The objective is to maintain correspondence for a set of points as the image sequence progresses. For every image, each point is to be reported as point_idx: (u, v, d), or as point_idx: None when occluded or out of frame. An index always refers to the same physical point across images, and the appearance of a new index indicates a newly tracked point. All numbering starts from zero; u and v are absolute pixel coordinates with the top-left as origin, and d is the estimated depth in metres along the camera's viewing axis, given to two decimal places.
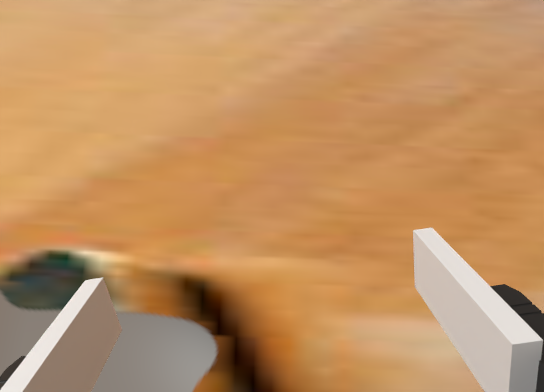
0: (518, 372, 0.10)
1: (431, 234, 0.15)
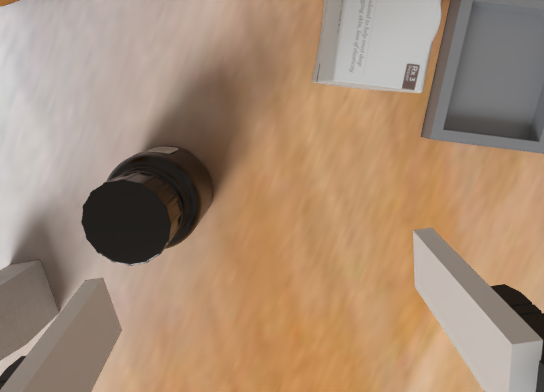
0: (518, 372, 0.10)
1: (430, 234, 0.15)
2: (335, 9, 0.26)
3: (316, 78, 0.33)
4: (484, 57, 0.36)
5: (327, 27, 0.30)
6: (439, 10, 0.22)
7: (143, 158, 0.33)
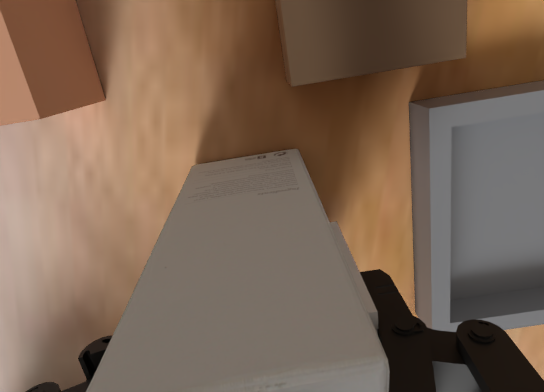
0: None
1: (333, 227, 0.17)
2: None
3: None
4: (490, 187, 0.20)
5: None
6: None
7: None
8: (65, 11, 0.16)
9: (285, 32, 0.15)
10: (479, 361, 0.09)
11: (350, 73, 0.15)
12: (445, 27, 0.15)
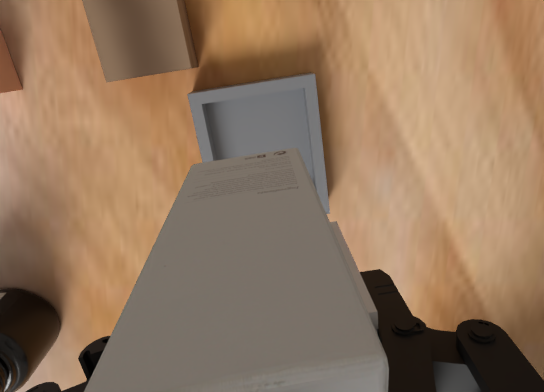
0: None
1: (333, 227, 0.17)
2: None
3: None
4: (245, 140, 0.36)
5: None
6: None
7: None
8: None
9: (99, 55, 0.30)
10: (479, 361, 0.09)
11: (134, 75, 0.31)
12: (177, 53, 0.30)
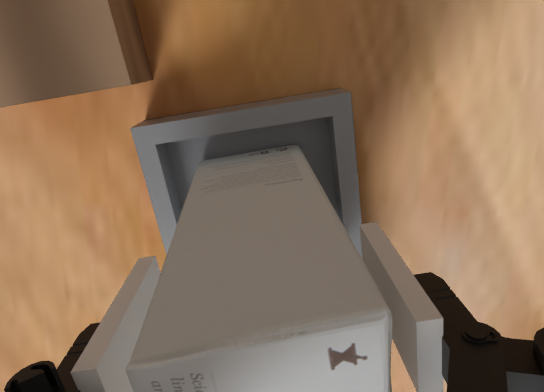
0: (425, 347, 0.11)
1: (374, 227, 0.16)
2: None
3: None
4: None
5: None
6: None
7: None
8: None
9: None
10: None
11: (29, 99, 0.17)
12: (104, 58, 0.17)
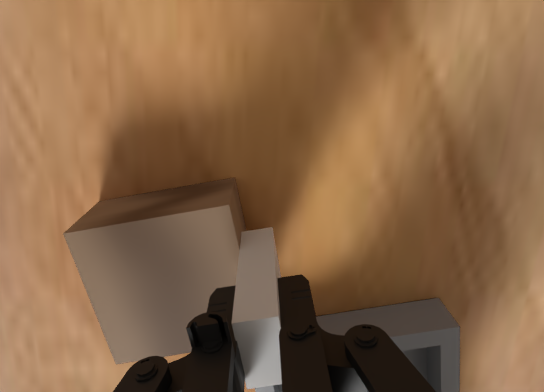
0: (266, 343, 0.12)
1: (267, 232, 0.17)
2: None
3: None
4: None
5: None
6: None
7: None
8: None
9: (103, 329, 0.18)
10: (366, 366, 0.10)
11: (163, 354, 0.18)
12: None
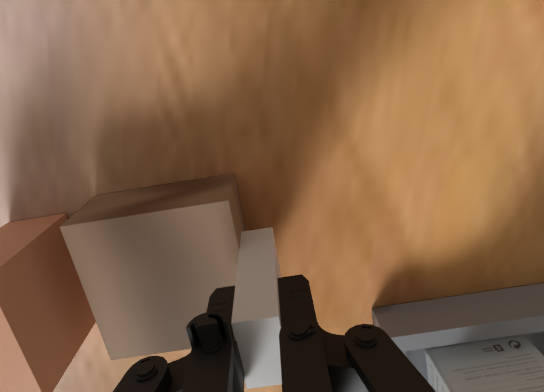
0: (266, 343, 0.12)
1: (267, 232, 0.17)
2: None
3: None
4: None
5: None
6: None
7: None
8: (67, 263, 0.19)
9: (98, 324, 0.17)
10: (366, 366, 0.10)
11: (159, 350, 0.18)
12: None
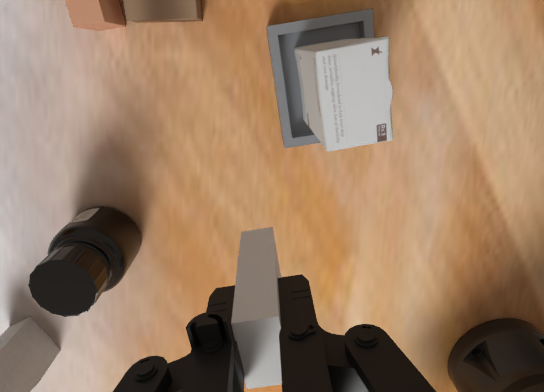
0: (266, 342, 0.12)
1: (267, 232, 0.17)
2: (311, 88, 0.33)
3: (307, 123, 0.41)
4: None
5: (306, 90, 0.37)
6: (390, 82, 0.30)
7: (67, 232, 0.42)
8: None
9: None
10: (366, 366, 0.10)
11: (150, 17, 0.38)
12: (187, 3, 0.37)
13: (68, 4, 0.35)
